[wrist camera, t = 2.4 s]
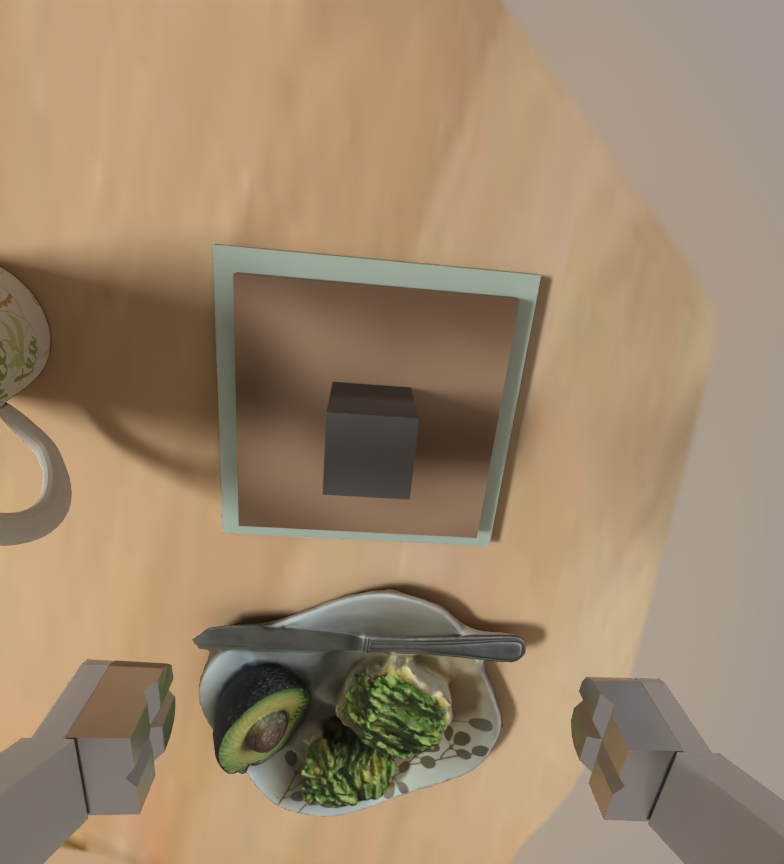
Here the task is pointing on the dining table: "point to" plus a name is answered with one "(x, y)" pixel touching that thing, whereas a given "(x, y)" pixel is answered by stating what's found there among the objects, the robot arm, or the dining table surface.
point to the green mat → (366, 272)
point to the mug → (3, 378)
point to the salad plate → (352, 700)
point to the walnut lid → (366, 404)
